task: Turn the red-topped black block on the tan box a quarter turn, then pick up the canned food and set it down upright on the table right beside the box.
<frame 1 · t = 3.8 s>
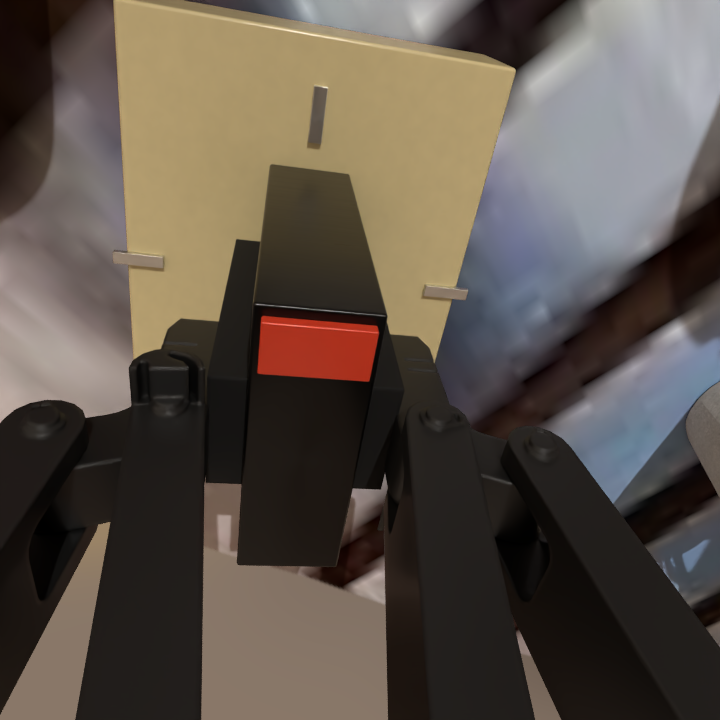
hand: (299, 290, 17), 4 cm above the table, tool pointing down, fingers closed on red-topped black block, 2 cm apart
tan box: (298, 237, 20), on the table
red-topped black block: (300, 348, 14), point 7 cm above the table, hinge at 0.6°, touching gripper
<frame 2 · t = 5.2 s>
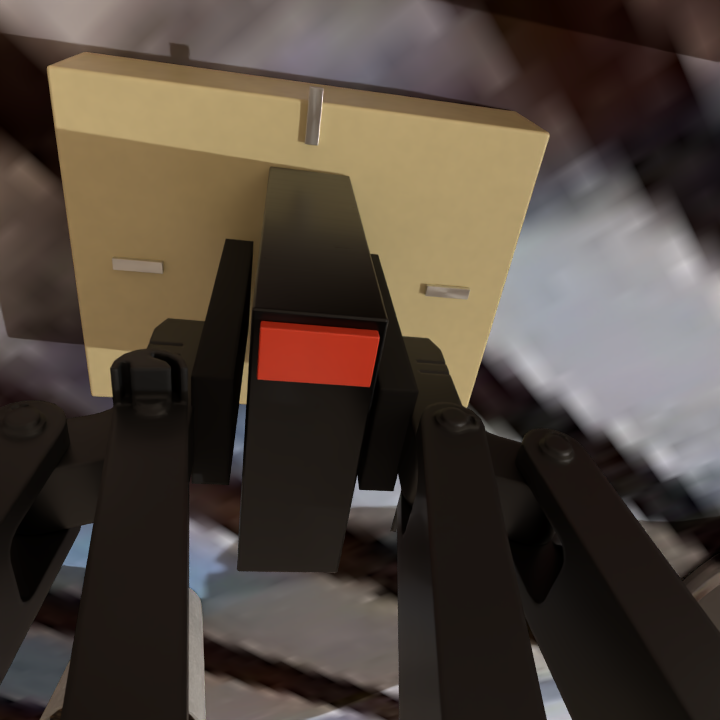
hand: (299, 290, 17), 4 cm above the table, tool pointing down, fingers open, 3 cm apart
house plant: (133, 613, 31), on the table
tan box: (298, 240, 20), on the table
red-topped black block: (300, 352, 14), point 7 cm above the table, hinge at 89.4°
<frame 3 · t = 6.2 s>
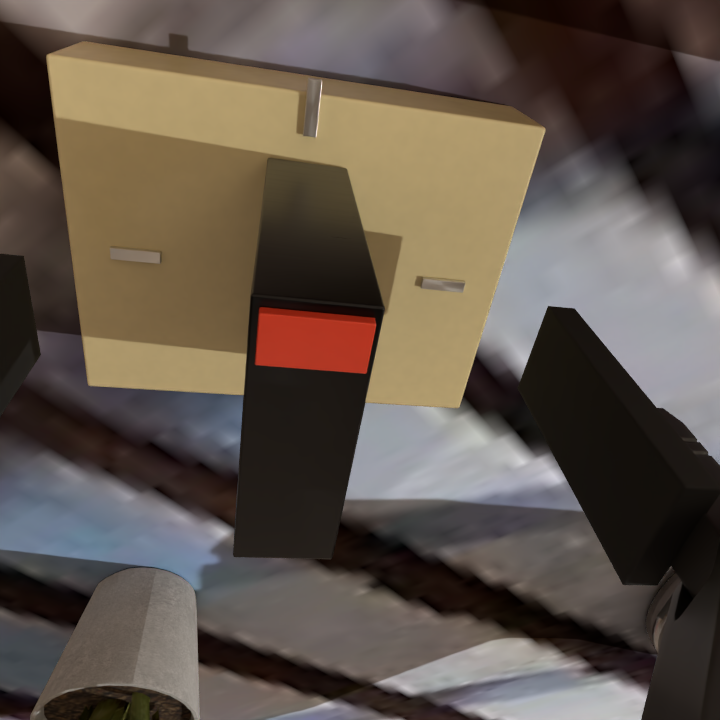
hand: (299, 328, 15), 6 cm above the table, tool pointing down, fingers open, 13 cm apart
house plant: (127, 604, 31), on the table
tan box: (295, 232, 20), on the table
red-topped black block: (297, 342, 14), point 7 cm above the table, hinge at 89.4°
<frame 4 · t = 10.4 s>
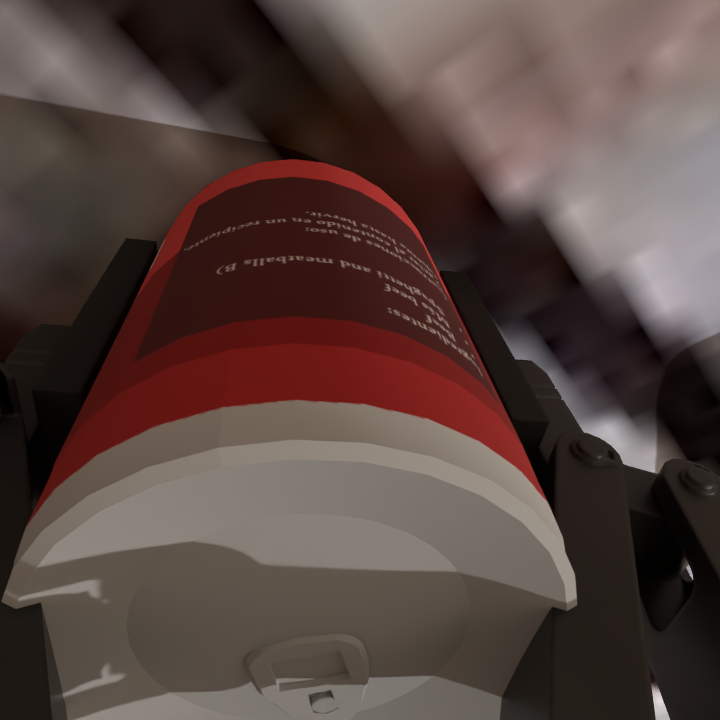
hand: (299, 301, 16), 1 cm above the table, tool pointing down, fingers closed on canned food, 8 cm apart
canned food: (299, 287, 17), on the table, touching gripper
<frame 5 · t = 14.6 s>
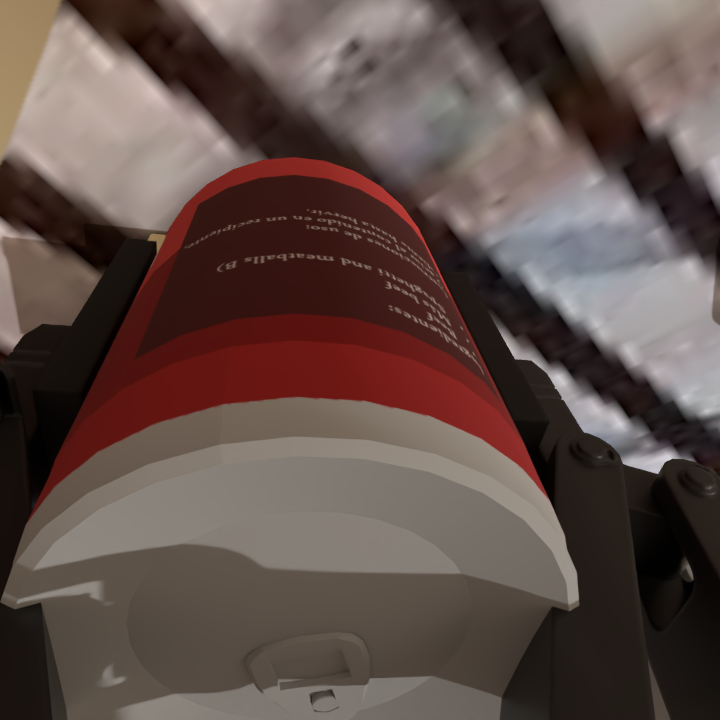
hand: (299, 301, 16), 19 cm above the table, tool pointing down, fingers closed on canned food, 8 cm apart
canned food: (299, 285, 17), point 18 cm above the table, touching gripper
when the fingers open (1 cm above the table, at t = 18.9 s): canned food stays where it is, on the table.
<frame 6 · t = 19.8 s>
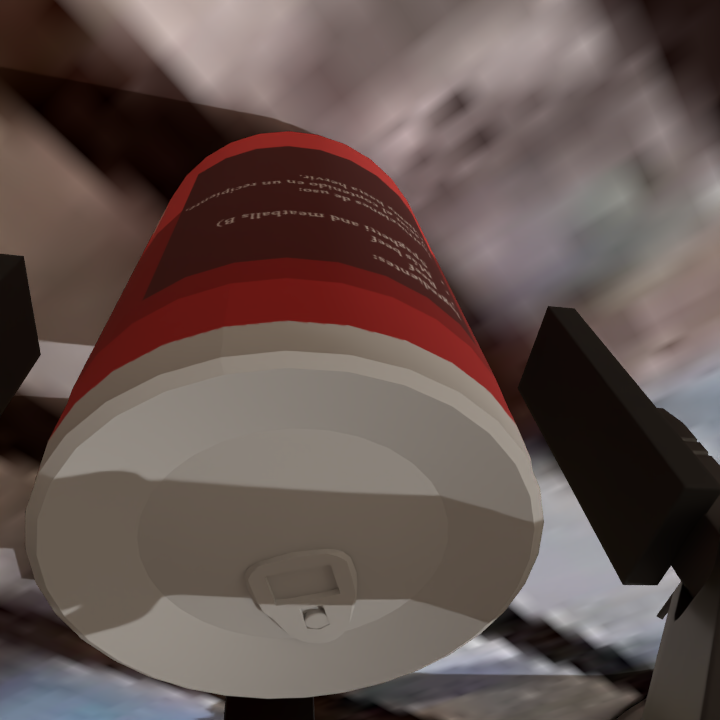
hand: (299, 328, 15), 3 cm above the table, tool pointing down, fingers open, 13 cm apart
red-topped black block: (263, 689, 18), point 7 cm above the table, hinge at 89.4°
canned food: (294, 257, 18), on the table
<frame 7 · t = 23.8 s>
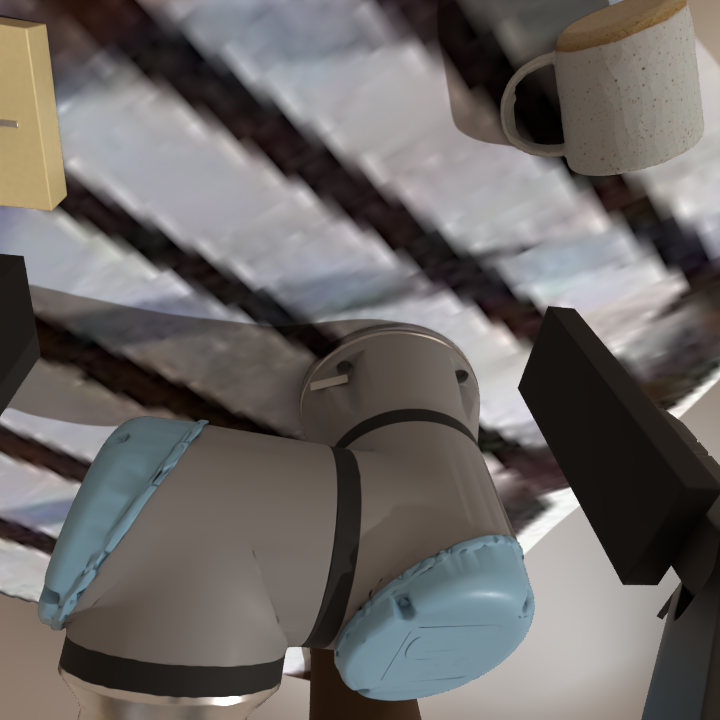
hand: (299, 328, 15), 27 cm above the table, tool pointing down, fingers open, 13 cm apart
ceramic mug: (577, 89, 38), on the table
olive oil: (352, 593, 66), on the table
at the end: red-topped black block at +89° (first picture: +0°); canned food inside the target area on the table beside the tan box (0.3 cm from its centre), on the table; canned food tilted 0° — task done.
